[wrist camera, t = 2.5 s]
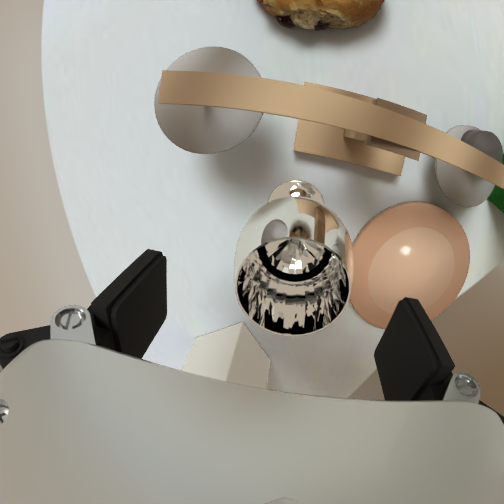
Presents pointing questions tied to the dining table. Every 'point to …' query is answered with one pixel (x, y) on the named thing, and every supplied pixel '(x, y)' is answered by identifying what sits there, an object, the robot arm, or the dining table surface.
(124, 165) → the dining table surface
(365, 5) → the bread roll
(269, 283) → the wineglass
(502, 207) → the milk carton
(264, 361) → the milk
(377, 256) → the dish
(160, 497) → the robot arm
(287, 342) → the dining table surface
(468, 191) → the balance
